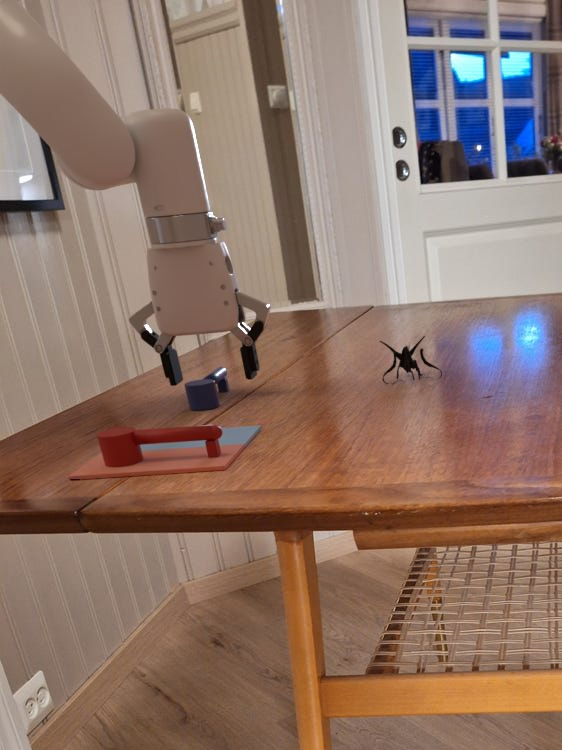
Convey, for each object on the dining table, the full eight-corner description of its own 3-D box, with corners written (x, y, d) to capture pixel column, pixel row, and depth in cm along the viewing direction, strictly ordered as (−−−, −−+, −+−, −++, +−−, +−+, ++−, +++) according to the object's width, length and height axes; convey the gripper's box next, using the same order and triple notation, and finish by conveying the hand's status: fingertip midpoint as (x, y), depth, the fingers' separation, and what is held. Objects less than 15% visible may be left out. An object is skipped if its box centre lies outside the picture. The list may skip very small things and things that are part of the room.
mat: (69, 480, 82) (68, 476, 82) (126, 438, 95) (125, 434, 95) (225, 469, 81) (224, 465, 81) (261, 428, 95) (260, 425, 94)
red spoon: (99, 468, 83) (90, 437, 82) (113, 457, 87) (105, 428, 85) (222, 460, 83) (215, 429, 82) (231, 449, 86) (225, 419, 85)
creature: (447, 389, 111) (432, 364, 117) (446, 348, 108) (431, 325, 114) (387, 396, 110) (375, 371, 115) (384, 355, 106) (372, 331, 112)
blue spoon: (215, 409, 105) (210, 384, 103) (186, 411, 105) (180, 386, 104) (239, 388, 115) (235, 365, 114) (213, 390, 116) (208, 366, 114)
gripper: (261, 224, 105) (287, 369, 113) (121, 236, 105) (157, 379, 114) (246, 227, 98) (275, 381, 106) (97, 241, 99) (137, 392, 107)
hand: (214, 380), depth 110 cm, fingers open, 9 cm apart
